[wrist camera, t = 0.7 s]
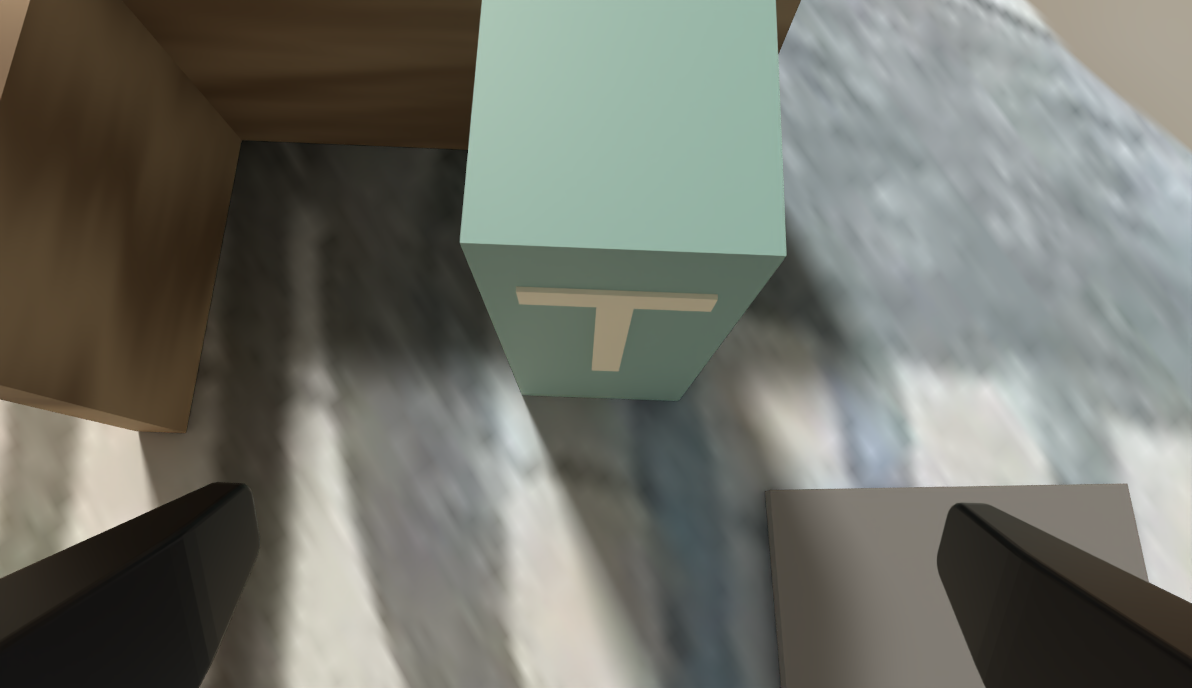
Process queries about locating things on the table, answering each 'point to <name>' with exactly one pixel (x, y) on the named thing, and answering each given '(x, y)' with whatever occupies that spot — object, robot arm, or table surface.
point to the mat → (905, 575)
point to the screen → (182, 165)
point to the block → (622, 186)
